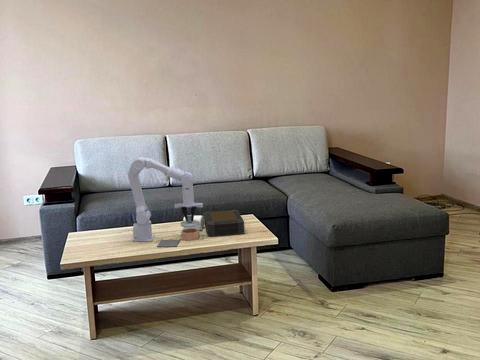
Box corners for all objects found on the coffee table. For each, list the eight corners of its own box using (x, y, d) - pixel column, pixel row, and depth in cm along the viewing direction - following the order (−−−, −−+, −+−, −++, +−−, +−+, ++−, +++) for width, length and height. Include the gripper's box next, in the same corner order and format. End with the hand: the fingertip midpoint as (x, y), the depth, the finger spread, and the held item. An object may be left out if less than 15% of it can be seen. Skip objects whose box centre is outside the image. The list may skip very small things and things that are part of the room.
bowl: (180, 240, 261) (180, 233, 260) (183, 235, 270) (183, 228, 269) (198, 240, 261) (197, 233, 260) (200, 235, 269) (199, 227, 269)
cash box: (246, 234, 268) (245, 220, 267) (208, 237, 265) (207, 223, 264) (238, 221, 292) (238, 208, 291) (204, 224, 289) (203, 211, 288)
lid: (180, 222, 268) (179, 214, 267) (198, 221, 269) (198, 213, 269) (180, 227, 258) (180, 219, 257) (200, 226, 260) (199, 217, 259)
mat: (157, 247, 252) (157, 246, 252) (161, 240, 262) (161, 239, 262) (176, 246, 252) (176, 245, 252) (180, 240, 262) (180, 239, 261)
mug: (200, 231, 275) (199, 217, 273) (183, 231, 277) (182, 217, 276) (206, 225, 287) (205, 212, 285) (189, 225, 289) (188, 211, 287)
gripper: (172, 197, 257) (174, 223, 260) (201, 197, 256) (202, 222, 259) (175, 194, 264) (177, 219, 267) (202, 193, 263) (204, 218, 266)
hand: (189, 220), depth 263 cm, fingers closed on lid, 2 cm apart
